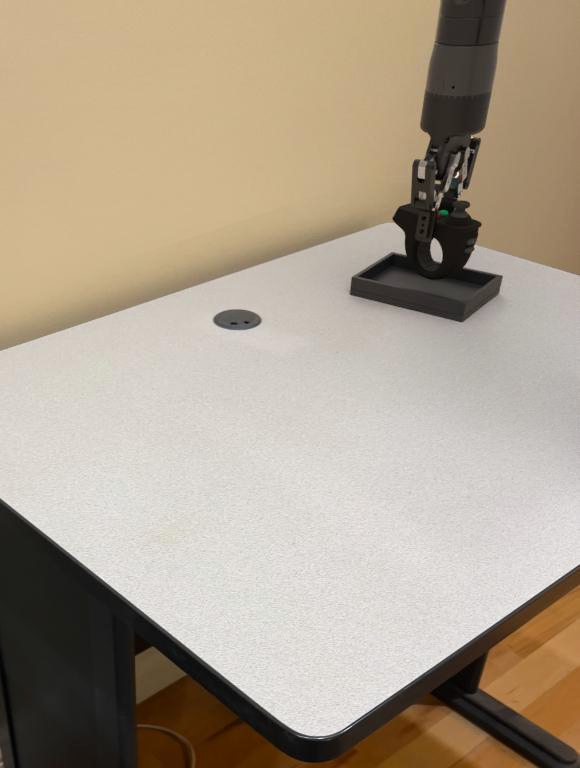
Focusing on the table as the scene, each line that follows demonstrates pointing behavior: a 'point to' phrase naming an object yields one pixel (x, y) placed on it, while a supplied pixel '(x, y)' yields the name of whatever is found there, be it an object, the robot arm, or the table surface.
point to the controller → (439, 240)
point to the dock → (425, 288)
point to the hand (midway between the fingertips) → (434, 233)
